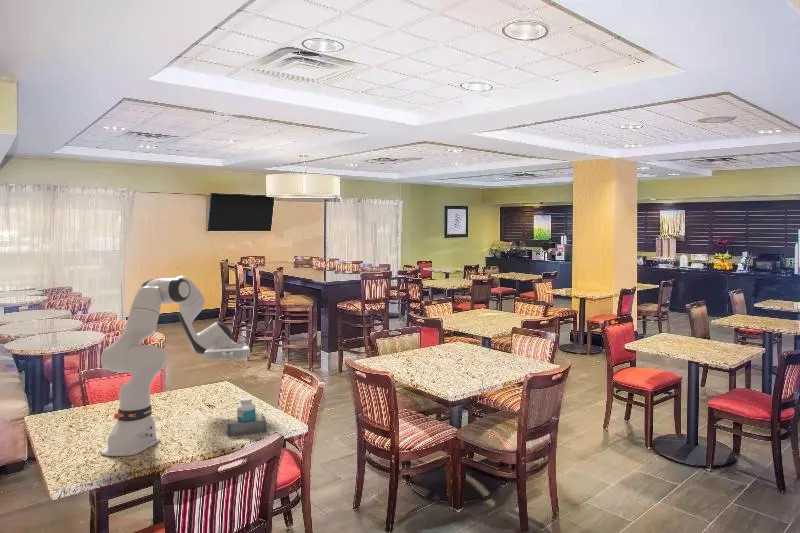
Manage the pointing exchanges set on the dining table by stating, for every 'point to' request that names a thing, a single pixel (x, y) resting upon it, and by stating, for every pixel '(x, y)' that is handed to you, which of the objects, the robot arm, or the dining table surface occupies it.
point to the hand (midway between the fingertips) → (228, 356)
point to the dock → (246, 427)
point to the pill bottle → (246, 410)
